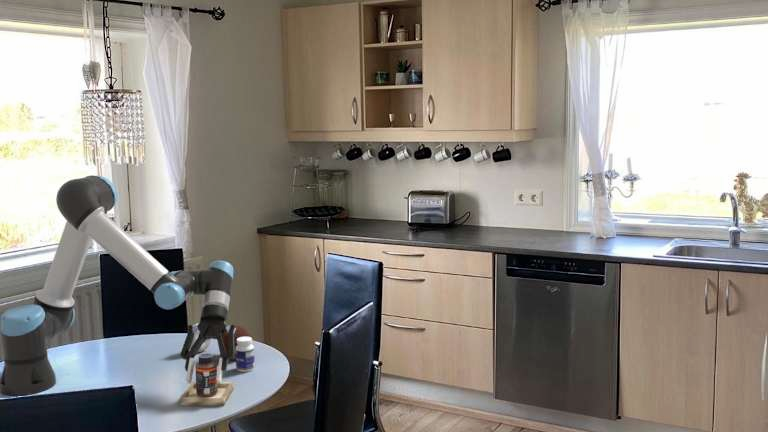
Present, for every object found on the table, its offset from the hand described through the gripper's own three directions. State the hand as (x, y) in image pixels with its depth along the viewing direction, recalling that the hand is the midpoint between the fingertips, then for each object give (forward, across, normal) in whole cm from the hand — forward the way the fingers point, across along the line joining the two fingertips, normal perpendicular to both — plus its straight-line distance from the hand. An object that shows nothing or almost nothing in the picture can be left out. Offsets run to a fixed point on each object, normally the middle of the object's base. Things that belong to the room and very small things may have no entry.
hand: (203, 381), depth 210 cm
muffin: (-23, 0, -32) cm, 39 cm away
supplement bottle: (+1, 0, -6) cm, 6 cm away
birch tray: (+2, 0, -7) cm, 7 cm away
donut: (-26, +13, -35) cm, 46 cm away
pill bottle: (-14, -6, -23) cm, 28 cm away
